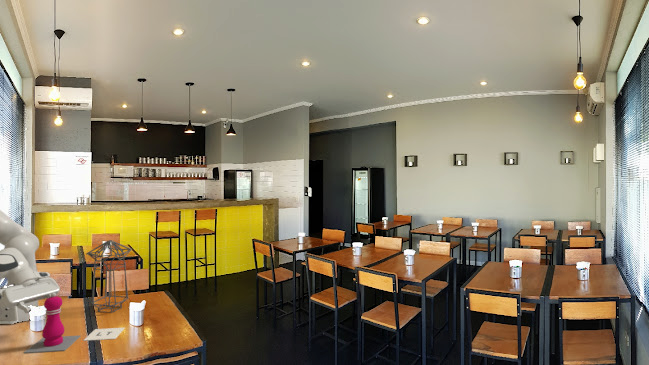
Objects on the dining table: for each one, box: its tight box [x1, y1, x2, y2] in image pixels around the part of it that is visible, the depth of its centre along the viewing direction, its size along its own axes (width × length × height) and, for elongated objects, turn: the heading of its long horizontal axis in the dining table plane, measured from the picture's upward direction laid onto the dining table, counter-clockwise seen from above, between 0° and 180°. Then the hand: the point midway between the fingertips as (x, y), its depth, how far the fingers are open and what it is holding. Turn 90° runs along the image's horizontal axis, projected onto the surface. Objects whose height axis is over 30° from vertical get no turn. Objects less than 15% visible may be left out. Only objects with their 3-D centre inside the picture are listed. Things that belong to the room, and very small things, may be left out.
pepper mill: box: [41, 293, 65, 347], centre depth 155 cm, size 7×7×20 cm
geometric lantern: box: [86, 239, 133, 314], centre depth 196 cm, size 16×16×35 cm
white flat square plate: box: [82, 327, 125, 342], centre depth 166 cm, size 12×12×1 cm
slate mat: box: [22, 335, 81, 354], centre depth 155 cm, size 14×14×1 cm
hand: (41, 308), depth 159 cm, fingers open, 8 cm apart
